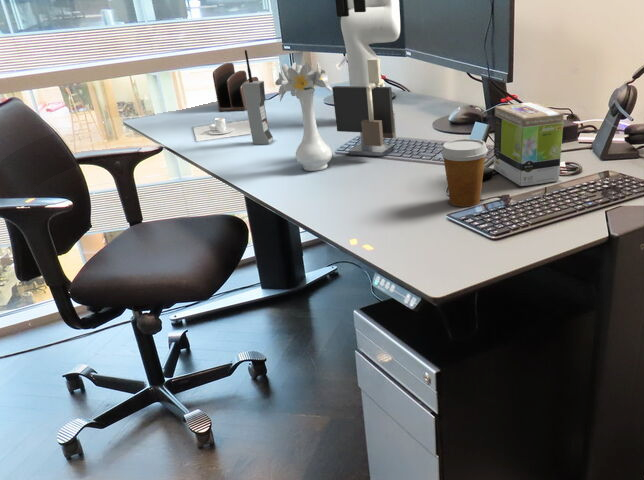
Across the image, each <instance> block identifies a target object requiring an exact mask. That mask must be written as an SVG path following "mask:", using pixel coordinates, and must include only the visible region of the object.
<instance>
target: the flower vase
mask: <svg viewBox="0 0 644 480" xmlns="http://www.w3.org/2000/svg"><path fill="white" fill-rule="evenodd" d="M328 81H329V76H328V75H327V73H326V71H325V70H324V69H322V67H321V65H320V62H319V61H318V60H317V62H316V69H313V66H312V64H311V63H310V62H309V61H305V62H304V65H301V64H297V63H296V62H293V63H292V64H291V66H290V67H289V66H288V65H287V64H286V63H283V64H282V67H280V71H279V72H278V79H276V81H275V84H274V85H275V86H280V87H279V88H278V96H280V97H279V102H281V101H282V99H283V97H284V96H285V94H286V92H290V95H291V96H292V97H296V99H298V100H299V103H300V107H301V115H302V123H303V134H302V139H301V142H300V144H299V145H298V146H297V148H296V151H295V159H296V161H297V162H298V164H300V165H301V166H303V167H302V168H303V170H304V171H308V172H317V171H322V170H325V169H327V168H328V166H329V165H328V163H329V162H330V161H331V159H332V157H333V150H332V148H331V146H330V145H329V144H328V143H327V142H326V141H324V139H323V138H322V136H321V134H320V133H319V132H320V131H319V129H318V125H317V121H316V113H315V106H314V96H315V95H314V93H315V90H316V89H315V87H314V86H317V87H320V88H325V89H327V90H328V91H330V92H331V93H333V90H332V88H331V86H330V85H329V84H328Z"/></svg>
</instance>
